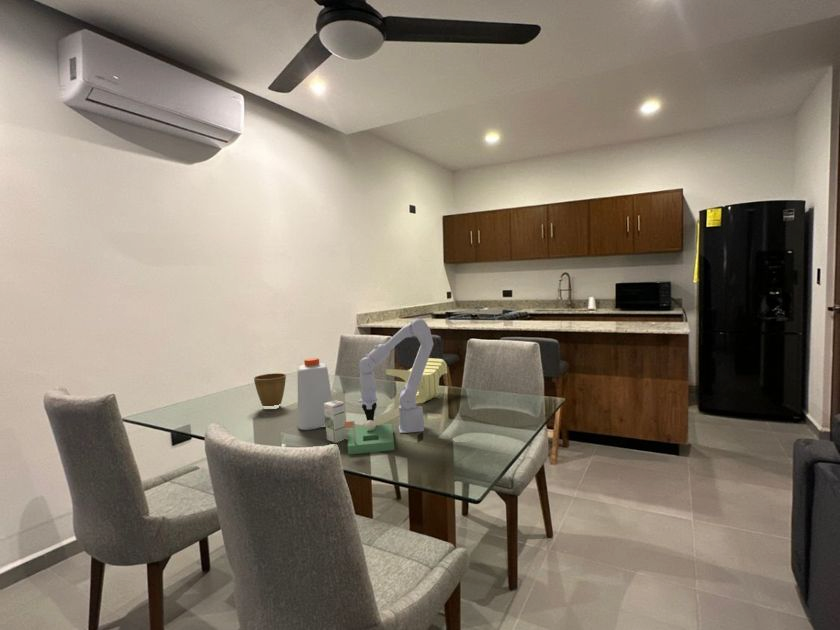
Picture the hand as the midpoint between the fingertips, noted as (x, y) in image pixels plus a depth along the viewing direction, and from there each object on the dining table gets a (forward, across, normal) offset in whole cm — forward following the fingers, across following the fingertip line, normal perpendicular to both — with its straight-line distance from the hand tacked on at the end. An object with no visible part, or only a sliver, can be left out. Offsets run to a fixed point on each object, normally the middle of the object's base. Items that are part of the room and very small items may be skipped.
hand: (370, 422), depth 174 cm
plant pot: (+4, -50, -48) cm, 69 cm away
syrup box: (+4, +5, -13) cm, 15 cm away
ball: (-1, +7, 0) cm, 7 cm away
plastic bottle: (+4, -17, -23) cm, 29 cm away
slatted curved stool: (+4, -43, +24) cm, 49 cm away
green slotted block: (+4, +11, 0) cm, 12 cm away
